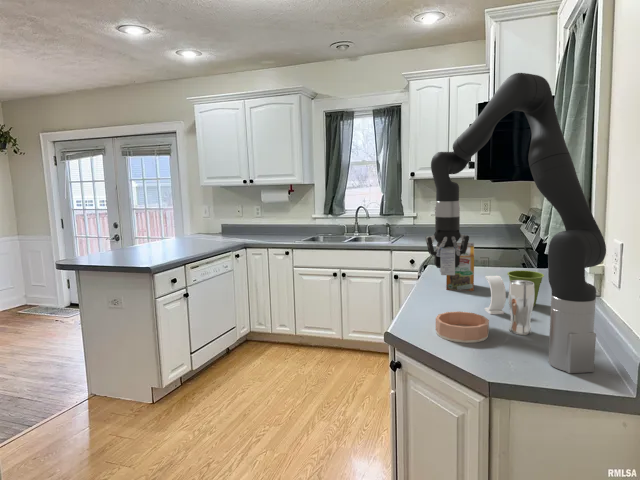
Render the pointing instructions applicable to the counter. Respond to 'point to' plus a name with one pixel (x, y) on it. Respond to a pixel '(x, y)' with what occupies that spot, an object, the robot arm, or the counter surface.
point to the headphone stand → (496, 295)
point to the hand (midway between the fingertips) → (447, 267)
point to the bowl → (462, 327)
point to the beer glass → (521, 306)
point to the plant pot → (528, 279)
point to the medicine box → (447, 261)
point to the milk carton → (463, 271)
